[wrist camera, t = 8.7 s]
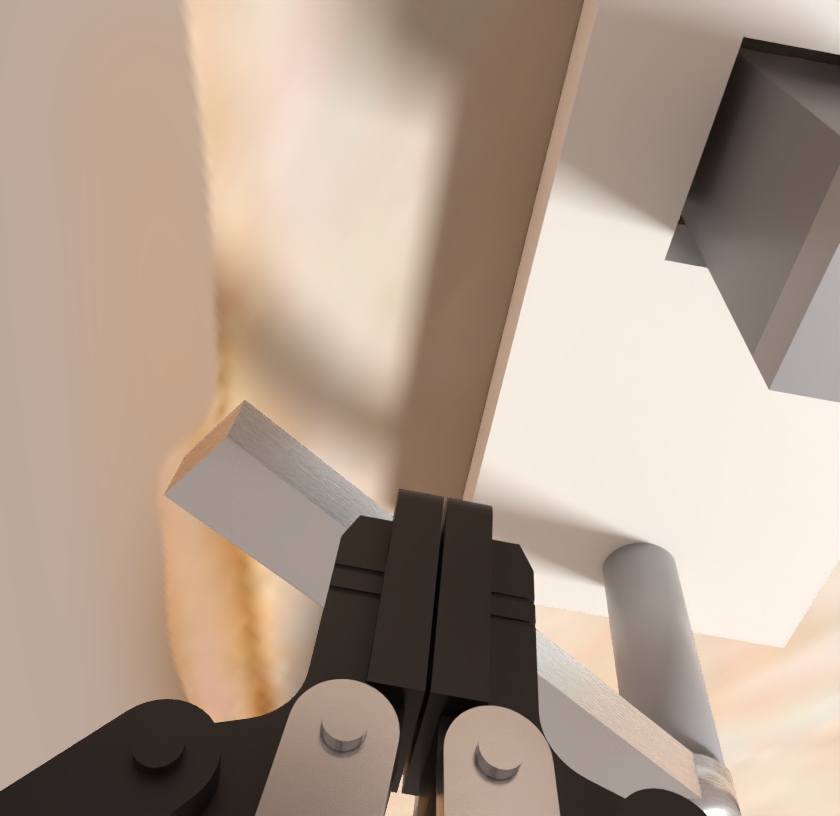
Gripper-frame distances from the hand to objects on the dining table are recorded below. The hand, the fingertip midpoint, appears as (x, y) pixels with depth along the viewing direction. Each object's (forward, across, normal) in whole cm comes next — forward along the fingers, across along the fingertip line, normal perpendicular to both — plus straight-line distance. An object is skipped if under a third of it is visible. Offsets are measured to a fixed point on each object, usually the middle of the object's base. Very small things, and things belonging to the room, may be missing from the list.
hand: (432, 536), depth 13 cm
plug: (+14, -8, -4) cm, 16 cm away
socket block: (+13, -8, +2) cm, 16 cm away
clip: (+3, -2, +6) cm, 7 cm away
